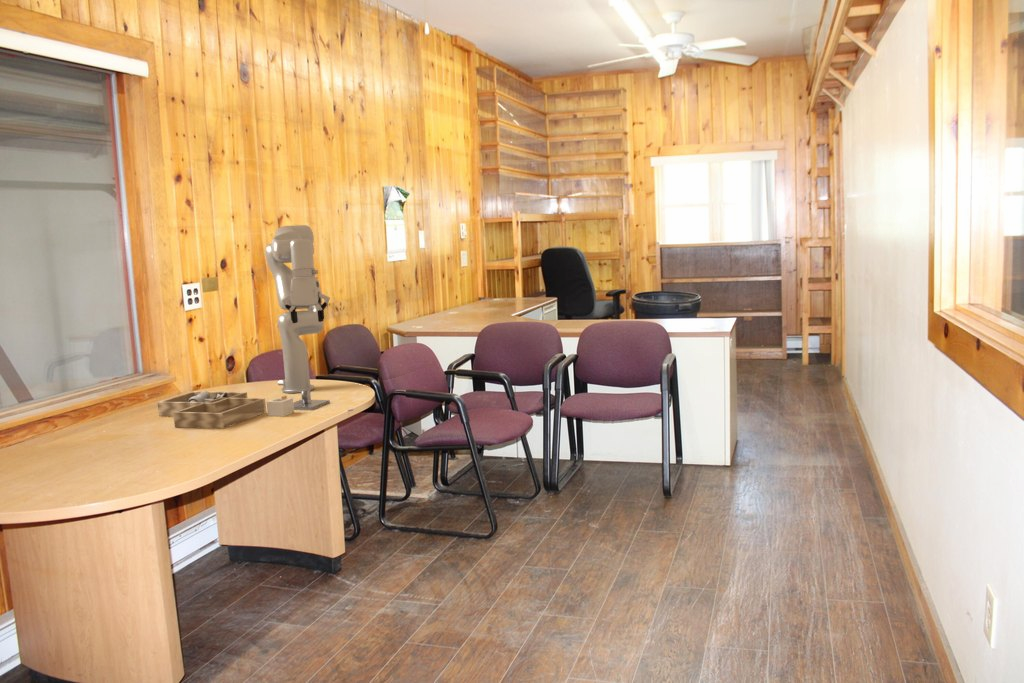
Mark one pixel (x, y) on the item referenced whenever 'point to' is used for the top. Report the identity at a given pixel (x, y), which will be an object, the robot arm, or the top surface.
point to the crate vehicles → (237, 413)
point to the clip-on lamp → (205, 397)
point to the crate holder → (182, 403)
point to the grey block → (280, 406)
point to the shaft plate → (308, 402)
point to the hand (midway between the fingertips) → (308, 322)
